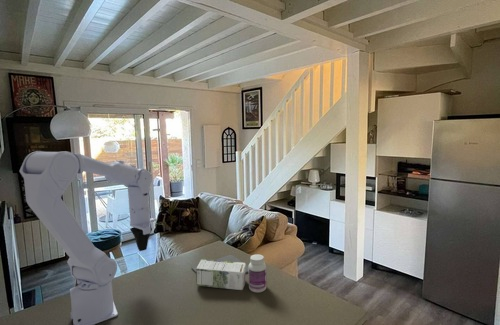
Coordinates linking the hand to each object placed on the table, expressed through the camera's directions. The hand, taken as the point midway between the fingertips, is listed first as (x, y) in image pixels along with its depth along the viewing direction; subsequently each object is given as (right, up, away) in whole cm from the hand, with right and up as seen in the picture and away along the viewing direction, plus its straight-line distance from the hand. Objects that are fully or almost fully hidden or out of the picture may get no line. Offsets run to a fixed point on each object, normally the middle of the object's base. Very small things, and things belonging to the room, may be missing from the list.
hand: (142, 249), depth 85 cm
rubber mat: (+24, -9, +7) cm, 27 cm away
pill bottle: (+36, -10, -4) cm, 38 cm away
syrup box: (+17, -7, -1) cm, 19 cm away
